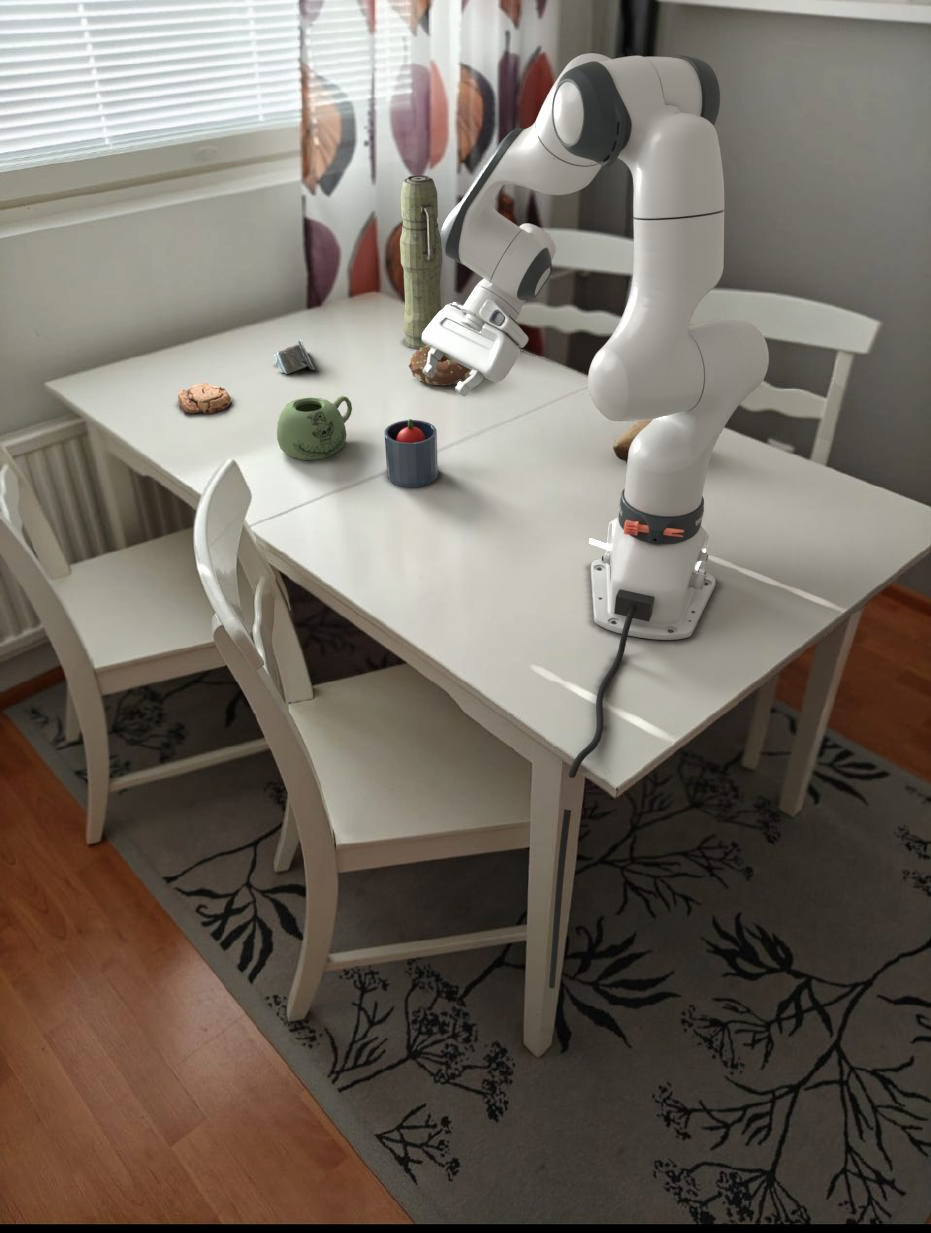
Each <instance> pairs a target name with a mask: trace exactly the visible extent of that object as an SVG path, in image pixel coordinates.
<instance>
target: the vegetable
mask: <svg viewBox="0 0 931 1233" xmlns="http://www.w3.org/2000/svg"><path fill="white" fill-rule="evenodd" d="M652 420H653V419H652ZM652 420H647V421H636V422H635V424H633V425H632V426H631V427H630V428H629V429H627V431H625V433H623V434H622V435H621V436H620V437H619V438H618V439H615V441H614V442H613V445H612V449H613V452H614V454H615V456H616V457H617V458H618V459H620V460H622V461H628V453H629V448H630V446H631V443H632V441H633V440H634V438H635V437H636V436H637V434H638V433H639V432H640V431H641V430H643V429H644V428H645V427H646V426H647V425H648V424H649V423H650V422H651V421H652Z"/></svg>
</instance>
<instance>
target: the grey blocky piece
mask: <svg viewBox="0 0 931 1233" xmlns="http://www.w3.org/2000/svg"><path fill="white" fill-rule="evenodd" d="M274 358H275V361H276V365H277V367H278V369H279V370H280V373H282V374H283V373H285V374H286V375H288V374H292V373H293V372H297V371H299V370H301V369H304V368H306V367H308V368H309V369H310V370H313V371H316V369H315V367H314V365H313V363H312V361H311V358H310V357H309V354H308V352H307V350H306V348H305V345H304V343H303V341H302V338H301V337H300V339H299V340H298V342H297V343H296V344H294V345H291V346H289V347H287V348H284V349H281V350H279V351H278V352H276V353H275V354H274Z"/></svg>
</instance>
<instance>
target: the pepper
mask: <svg viewBox="0 0 931 1233" xmlns="http://www.w3.org/2000/svg"><path fill="white" fill-rule="evenodd" d="M407 420H408V427H406V428H404V429H402V430H401V431H400V432H399V434H398V436H397V439H396V441H399V442H405V443H415V442H420V441H424V440H426V437H425V435H424V433H423V432H422V431H421V430H420V429H419V428H416V427H413V420H414V419H411V418H409V419H407Z"/></svg>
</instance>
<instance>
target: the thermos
mask: <svg viewBox="0 0 931 1233" xmlns="http://www.w3.org/2000/svg"><path fill="white" fill-rule="evenodd" d="M400 191H401V192H400V205H401V206H400V209H401V218H402V224H401V229H402V230H401V234H400V238H399V247H400V248H399V249H400V265H401V266H402V268H403V285H404V286H403V288H404V290H403V291H404V311H403V313H402V319H403V333H404V338H405V339H404V343H405V345H406V346H407V347H409V348H411V349H415V350H420V348H421V347H422V348H423V347H425V346H427V345H426V344H425V343H424V342H423V341H422V334H423V332H424V330H425V329H426V327H427V326H428V325H429V323H430V322H431V321H432V320H433V318H434V317H435V316H436V315H437V314H438V313H439V312H440V311H441V310H442V309H443V308H442V305H441V303H442V302H441V301H442V300H441V296H442V295H441V266H442V264H443V255H442V254H443V252H442V249H443V246H442V242H441V236H440V234H441V232H440V230H439V223H438V217H439V211H438V210H439V206H438V205H439V204H438V203H439V202H438V191H437V187H436V184H435V181H434V179H433V177H430V176H428V175H425V174H414V175H410V176H408V177H407V178H404V179H403V183H402V187H401V190H400Z"/></svg>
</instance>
